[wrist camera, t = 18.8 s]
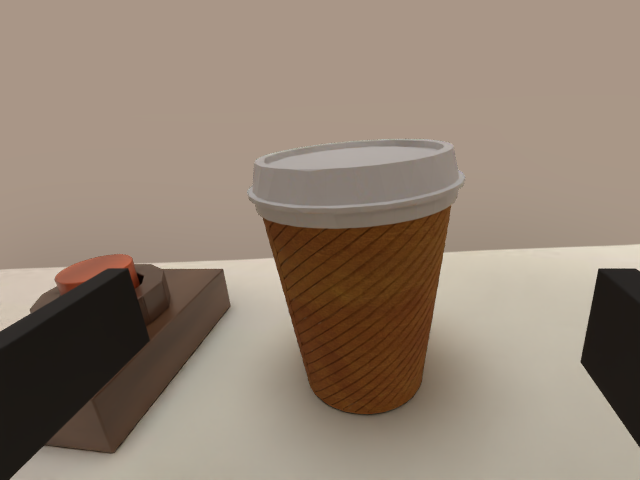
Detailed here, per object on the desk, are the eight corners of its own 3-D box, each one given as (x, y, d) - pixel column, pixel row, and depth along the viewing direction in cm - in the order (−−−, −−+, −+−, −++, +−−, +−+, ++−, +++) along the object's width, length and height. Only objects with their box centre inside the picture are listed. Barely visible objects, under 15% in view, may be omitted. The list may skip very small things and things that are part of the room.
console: (230, 305, 28) (219, 246, 27) (113, 454, 17) (78, 364, 15) (131, 303, 30) (114, 247, 29) (-39, 435, 18) (-86, 354, 17)
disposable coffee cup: (242, 397, 19) (194, 169, 15) (334, 309, 26) (319, 140, 22) (419, 484, 14) (421, 175, 10) (473, 345, 21) (487, 134, 17)
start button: (153, 278, 23) (146, 253, 23) (108, 312, 20) (98, 283, 19) (100, 278, 24) (92, 254, 24) (47, 310, 20) (36, 282, 20)
